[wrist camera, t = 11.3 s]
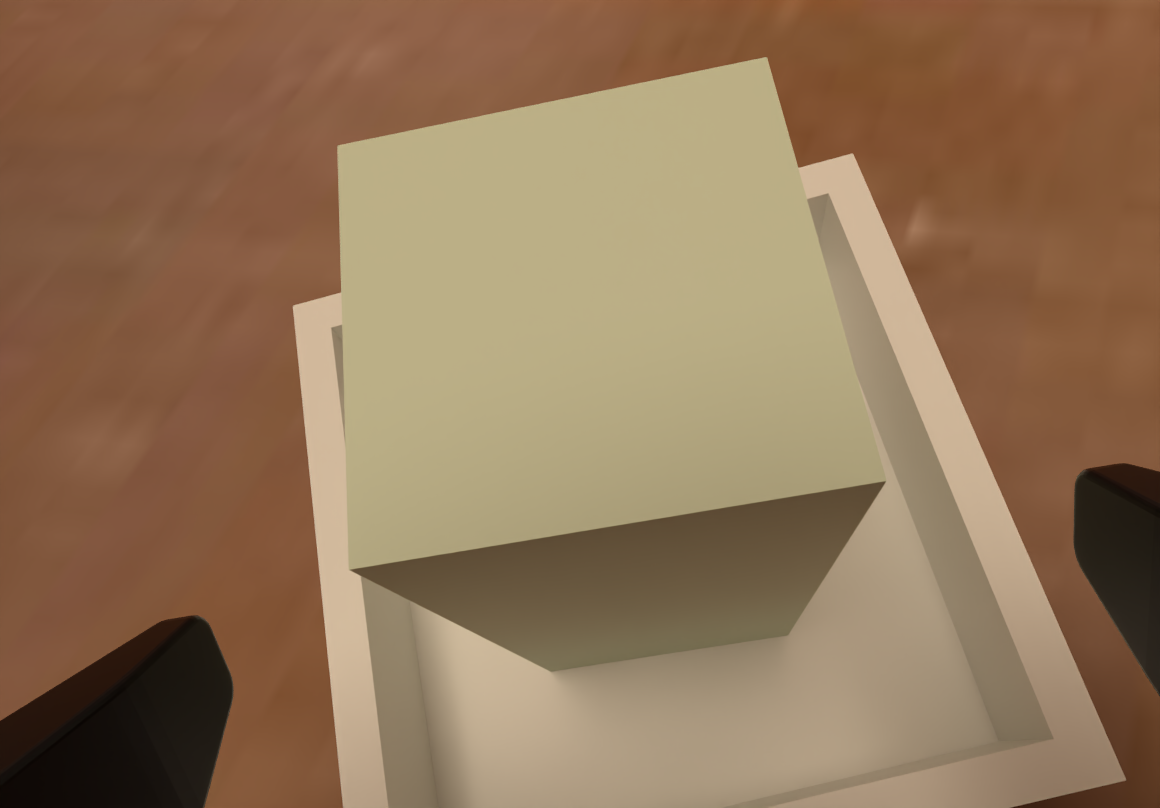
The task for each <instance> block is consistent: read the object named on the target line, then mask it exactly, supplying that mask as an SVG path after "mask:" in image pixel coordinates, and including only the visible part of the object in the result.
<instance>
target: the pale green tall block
mask: <svg viewBox="0 0 1160 808" xmlns="http://www.w3.org/2000/svg"><path fill="white" fill-rule="evenodd" d="M338 184H339V222H340V260H341V297H342V335H343V373H344V411H345V448H346V486H347V524H348V562H349V570H350V571H352V572H354V573H356V574H358V575H360V576H362V577H364V578H366V579H368V580H370V581H372V582H374V583H376V584H378V585H380V586H382V587H384V588H386V589H388V590H390V591H392V592H394V593H396V594H398V595H400V596H402V597H404V598H406V599H408V600H410V601H412V602H413V603H415V604H417V605H419V606H421V607H423V608H425V609H427V610H429V611H431V612H433V613H435V614H437V615H439V616H441V617H443V618H445V619H447V620H449V621H451V622H453V623H455V624H457V625H459V626H461V627H463V628H465V629H467V630H469V631H471V632H473V633H475V634H477V635H479V636H481V637H483V638H485V639H487V640H489V641H491V642H493V643H495V644H497V645H499V646H501V647H503V648H505V649H507V650H509V651H511V652H513V653H515V654H517V655H519V656H521V657H522V658H524V659H526V660H528V661H530V662H532V663H534V664H536V665H538V666H540V667H542V668H544V669H546V670H548V671H550V672H551V671H558V670H564V669H571V668H577V667H584V666H590V665H597V664H604V663H610V662H617V661H623V660H630V659H636V658H643V657H649V656H656V655H663V654H669V653H676V652H682V651H689V650H695V649H702V648H708V647H715V646H722V645H728V644H735V643H741V642H748V641H754V640H761V639H767V638H774V637H781V636H787V635H789V633H790V631H791V630H792V628H793V627H794V625H795V624H796V622H797V620H798V619H799V617H800V616H801V614H802V613H803V611H804V610H805V608H806V606H807V605H808V603H809V602H810V600H811V599H812V597H813V595H814V594H815V592H816V591H817V589H818V588H819V586H820V584H821V583H822V581H823V580H824V578H825V577H826V575H827V574H828V572H829V570H830V569H831V567H832V566H833V564H834V563H835V561H836V559H837V558H838V556H839V555H840V553H841V552H842V550H843V548H844V547H845V545H846V544H847V542H848V541H849V539H850V538H851V536H852V534H853V533H854V531H855V530H856V528H857V527H858V525H859V523H860V522H861V520H862V519H863V517H864V516H865V514H866V512H867V511H868V509H869V508H870V506H871V505H872V503H873V502H874V500H875V498H876V497H877V495H878V494H879V492H880V491H881V489H882V487H883V486H884V484H885V483H886V481H887V480H886V477H885V473H884V470H883V466H882V463H881V459H880V456H879V452H878V449H877V445H876V441H875V438H874V434H873V431H872V427H871V424H870V420H869V417H868V413H867V410H866V406H865V403H864V399H863V396H862V392H861V388H860V385H859V381H858V378H857V374H856V371H855V367H854V364H853V360H852V357H851V353H850V350H849V346H848V342H847V339H846V335H845V332H844V328H843V325H842V321H841V318H840V314H839V311H838V307H837V304H836V300H835V297H834V293H833V289H832V286H831V282H830V279H829V275H828V272H827V268H826V265H825V261H824V258H823V254H822V251H821V247H820V243H819V240H818V236H817V233H816V229H815V226H814V222H813V219H812V215H811V212H810V208H809V205H808V201H807V198H806V194H805V190H804V187H803V183H802V180H801V176H800V173H799V169H798V166H797V162H796V159H795V155H794V152H793V148H792V144H791V141H790V137H789V134H788V130H787V127H786V123H785V120H784V116H783V113H782V109H781V106H780V102H779V98H778V95H777V91H776V88H775V84H774V81H773V77H772V74H771V70H770V67H769V63H768V60H767V57H765V58H760V59H755V60H750V61H745V62H741V63H736V64H731V65H726V66H721V67H716V68H711V69H707V70H702V71H697V72H692V73H687V74H682V75H678V76H673V77H668V78H663V79H658V80H653V81H648V82H644V83H639V84H634V85H629V86H624V87H619V88H615V89H610V90H605V91H600V92H595V93H590V94H585V95H581V96H576V97H571V98H566V99H561V100H556V101H552V102H547V103H542V104H537V105H532V106H527V107H523V108H518V109H513V110H508V111H503V112H498V113H493V114H489V115H484V116H479V117H474V118H469V119H464V120H460V121H455V122H450V123H445V124H440V125H435V126H430V127H426V128H421V129H416V130H411V131H406V132H401V133H397V134H392V135H387V136H382V137H377V138H372V139H368V140H363V141H358V142H353V143H348V144H343V145H338Z"/></svg>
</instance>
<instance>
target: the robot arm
mask: <svg viewBox="0 0 1160 808" xmlns="http://www.w3.org/2000/svg"><path fill="white" fill-rule="evenodd" d="M1074 550H1075V554H1076V558H1077V561H1078V563H1079V566H1080V567H1081V569H1082V571H1083V573H1084V574H1085V576H1086V578H1087V579H1088V581H1089V583H1090V584H1091V586H1092V587H1093V589H1094V591H1095V592H1096V594H1097V596H1098V597H1099V599H1100V601H1101V602H1102V604H1103V606H1104V607H1105V609H1106V610H1107V612H1108V614H1109V615H1110V617H1111V619H1112V620H1113V622H1114V624H1115V625H1116V627H1117V629H1118V630H1119V632H1120V633H1121V635H1122V637H1123V638H1124V640H1125V642H1126V643H1127V645H1128V647H1129V648H1130V650H1131V651H1132V653H1133V655H1134V656H1135V658H1136V660H1137V661H1138V663H1139V665H1140V666H1141V668H1142V670H1143V671H1144V673H1145V674H1146V676H1147V678H1148V679H1149V681H1150V682H1151V684H1152V685H1153V687H1154V688H1155V690H1156V691H1157V693H1158V694H1159V696H1160V472H1159V471H1155V470H1151V469H1147V468H1143V467H1139V466H1135V465H1131V464H1125V463H1122V464H1113V465H1107V466H1101V467H1095V468H1089V469H1086V470H1083V471H1082V472H1081V473H1080V474H1079V475H1078V476H1077V479H1076V482H1075V492H1074ZM233 691H234V690H233V681H232V677H231V673H230V671H229V669H228V666H227V664H226V662H225V659H224V657H223V655H222V652H221V650H220V648H219V645H218V643H217V640H216V638H215V636H214V633H213V631H212V629H211V627H210V625H209V623H208V622H207V621H206V620H205V619H204V618H202V617H200V616H198V615H194V616H186V617H180V618H174V619H168V620H164V621H161V622H159V623H157V624H156V625H154V626H152V627H151V628H149V629H147V630H146V631H144V632H143V633H141V634H139V635H138V636H136V637H135V638H133V639H131V640H130V641H128V642H127V643H125V644H123V645H122V646H120V647H118V648H117V649H115V650H114V651H112V652H110V653H109V654H107V655H106V656H104V657H102V658H101V659H99V660H98V661H96V662H94V663H93V664H91V665H89V666H88V667H86V668H85V669H83V670H81V671H80V672H78V673H77V674H75V675H73V676H72V677H70V678H69V679H67V680H65V681H64V682H62V683H61V684H59V685H57V686H56V687H54V688H52V689H51V690H49V691H48V692H46V693H44V694H43V695H41V696H40V697H38V698H36V699H35V700H33V701H32V702H30V703H28V704H27V705H25V706H23V707H22V708H20V709H19V710H17V711H15V712H14V713H12V714H11V715H9V716H7V717H6V718H4V719H3V720H1V721H0V808H204V807H205V803H206V799H207V795H208V791H209V788H210V784H211V780H212V776H213V773H214V769H215V765H216V761H217V757H218V754H219V750H220V746H221V742H222V739H223V735H224V731H225V727H226V723H227V720H228V716H229V712H230V708H231V705H232V700H233Z"/></svg>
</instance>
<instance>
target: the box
mask: <svg viewBox="0 0 1160 808" xmlns="http://www.w3.org/2000/svg"><path fill="white" fill-rule="evenodd" d="M798 169H799V173H800V176H801V180H802V183H803V187H804V190H805V194H806V198H807V201H808V205H809V208H810V212H811V215H812V219H813V222H814V226H815V229H816V233H817V236H818V240H819V243H820V247H821V251H822V254H823V258H824V261H825V265H826V268H827V272H828V275H829V279H830V282H831V286H832V289H833V293H834V297H835V300H836V304H837V307H838V311H839V314H840V318H841V321H842V325H843V328H844V332H845V335H846V339H847V342H848V346H849V350H850V353H851V357H852V360H853V364H854V367H855V371H856V374H857V378H858V381H859V385H860V388H861V392H862V396H863V399H864V403H865V406H866V410H867V413H868V417H869V420H870V424H871V427H872V431H873V434H874V438H875V441H876V445H877V449H878V452H879V456H880V459H881V463H882V466H883V470H884V473H885V477H886V480H887V481H886V483H885V484H884V486H883V487H882V489H881V491H880V492H879V494H878V495H877V497H876V498H875V500H874V502H873V503H872V505H871V506H870V508H869V509H868V511H867V512H866V514H865V516H864V517H863V519H862V520H861V522H860V523H859V525H858V527H857V528H856V530H855V531H854V533H853V534H852V536H851V538H850V539H849V541H848V542H847V544H846V545H845V547H844V548H843V550H842V552H841V553H840V555H839V556H838V558H837V559H836V561H835V563H834V564H833V566H832V567H831V569H830V570H829V572H828V574H827V575H826V577H825V578H824V580H823V581H822V583H821V584H820V586H819V588H818V589H817V591H816V592H815V594H814V595H813V597H812V599H811V600H810V602H809V603H808V605H807V606H806V608H805V610H804V611H803V613H802V614H801V616H800V617H799V619H798V620H797V622H796V624H795V625H794V627H793V628H792V630H791V631H790V633H789V635H787V636H781V637H774V638H767V639H761V640H754V641H748V642H741V643H735V644H728V645H722V646H715V647H708V648H702V649H695V650H689V651H682V652H676V653H669V654H663V655H656V656H649V657H643V658H636V659H630V660H623V661H617V662H610V663H604V664H597V665H590V666H584V667H577V668H571V669H564V670H558V671H551V672H550V671H548V670H546V669H544V668H542V667H540V666H538V665H536V664H534V663H532V662H530V661H528V660H526V659H524V658H522V657H521V656H519V655H517V654H515V653H513V652H511V651H509V650H507V649H505V648H503V647H501V646H499V645H497V644H495V643H493V642H491V641H489V640H487V639H485V638H483V637H481V636H479V635H477V634H475V633H473V632H471V631H469V630H467V629H465V628H463V627H461V626H459V625H457V624H455V623H453V622H451V621H449V620H447V619H445V618H443V617H441V616H439V615H437V614H435V613H433V612H431V611H429V610H427V609H425V608H423V607H421V606H419V605H417V604H415V603H413V602H412V601H410V600H408V599H406V598H404V597H402V596H400V595H398V594H396V593H394V592H392V591H390V590H388V589H386V588H384V587H382V586H380V585H378V584H376V583H374V582H372V581H370V580H368V579H366V578H364V577H362V576H360V575H358V574H356V573H354V572H352V571H350V570H349V562H348V524H347V486H346V448H345V411H344V373H343V335H342V297H341V293H338V294H334V295H331V296H327V297H323V298H320V299H316V300H312V301H309V302H305V303H301V304H298V305H294V306H293V312H294V322H295V332H296V342H297V352H298V362H299V372H300V382H301V392H302V402H303V412H304V422H305V432H306V442H307V452H308V462H309V472H310V482H311V492H312V502H313V512H314V522H315V532H316V542H317V552H318V562H319V572H320V582H321V592H322V602H323V612H324V622H325V632H326V642H327V652H328V661H329V671H330V681H331V691H332V701H333V711H334V721H335V731H336V741H337V751H338V761H339V771H340V781H341V791H342V801H343V808H1011V807H1015V806H1020V805H1024V804H1028V803H1032V802H1037V801H1041V800H1045V799H1049V798H1054V797H1058V796H1062V795H1067V794H1071V793H1075V792H1079V791H1084V790H1088V789H1092V788H1096V787H1101V786H1105V785H1109V784H1113V783H1118V782H1122V781H1126V778H1125V776H1124V774H1123V771H1122V769H1121V767H1120V764H1119V762H1118V760H1117V757H1116V755H1115V753H1114V751H1113V748H1112V746H1111V744H1110V741H1109V739H1108V737H1107V735H1106V732H1105V730H1104V728H1103V725H1102V723H1101V721H1100V719H1099V716H1098V714H1097V712H1096V709H1095V707H1094V705H1093V703H1092V700H1091V698H1090V696H1089V693H1088V691H1087V689H1086V686H1085V684H1084V682H1083V680H1082V677H1081V675H1080V673H1079V670H1078V668H1077V666H1076V664H1075V661H1074V659H1073V657H1072V654H1071V652H1070V650H1069V648H1068V645H1067V643H1066V641H1065V638H1064V636H1063V634H1062V632H1061V629H1060V627H1059V625H1058V622H1057V620H1056V618H1055V615H1054V613H1053V611H1052V609H1051V606H1050V604H1049V602H1048V599H1047V597H1046V595H1045V593H1044V590H1043V588H1042V586H1041V583H1040V581H1039V579H1038V577H1037V574H1036V572H1035V570H1034V567H1033V565H1032V563H1031V560H1030V558H1029V556H1028V554H1027V551H1026V549H1025V547H1024V544H1023V542H1022V540H1021V538H1020V535H1019V533H1018V531H1017V528H1016V526H1015V524H1014V522H1013V519H1012V517H1011V515H1010V512H1009V510H1008V508H1007V506H1006V503H1005V501H1004V499H1003V496H1002V494H1001V492H1000V489H999V487H998V485H997V483H996V480H995V478H994V476H993V473H992V471H991V469H990V467H989V464H988V462H987V460H986V457H985V455H984V453H983V451H982V448H981V446H980V444H979V441H978V439H977V437H976V434H975V432H974V430H973V428H972V425H971V423H970V421H969V418H968V416H967V414H966V412H965V409H964V407H963V405H962V402H961V400H960V398H959V396H958V393H957V391H956V389H955V386H954V384H953V382H952V380H951V377H950V375H949V373H948V370H947V368H946V366H945V363H944V361H943V359H942V357H941V354H940V352H939V350H938V347H937V345H936V343H935V341H934V338H933V336H932V334H931V331H930V329H929V327H928V325H927V322H926V320H925V318H924V315H923V313H922V311H921V308H920V306H919V304H918V302H917V299H916V297H915V295H914V292H913V290H912V288H911V286H910V283H909V281H908V279H907V276H906V274H905V272H904V270H903V267H902V265H901V263H900V260H899V258H898V256H897V254H896V251H895V249H894V247H893V244H892V242H891V240H890V237H889V235H888V233H887V231H886V228H885V226H884V224H883V221H882V219H881V217H880V215H879V212H878V210H877V208H876V205H875V203H874V201H873V199H872V196H871V194H870V192H869V189H868V187H867V185H866V183H865V180H864V178H863V176H862V173H861V171H860V169H859V166H858V164H857V162H856V160H855V157H854V155H853V154H849V155H845V156H842V157H838V158H834V159H831V160H827V161H823V162H820V163H816V164H812V165H809V166H805V167H801V168H798Z"/></svg>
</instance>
